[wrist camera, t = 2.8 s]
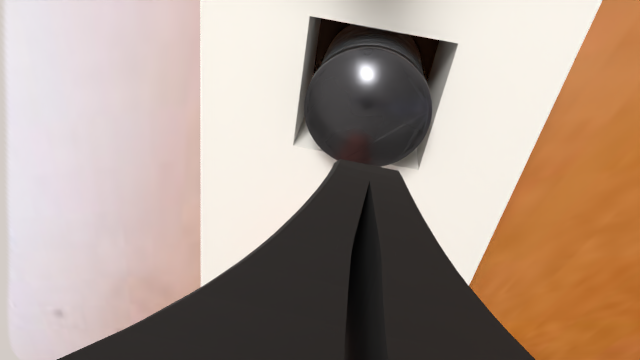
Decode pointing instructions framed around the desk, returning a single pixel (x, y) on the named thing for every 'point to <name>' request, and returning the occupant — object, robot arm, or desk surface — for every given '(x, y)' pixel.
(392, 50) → the graphite plug
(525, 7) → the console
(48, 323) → the desk surface
